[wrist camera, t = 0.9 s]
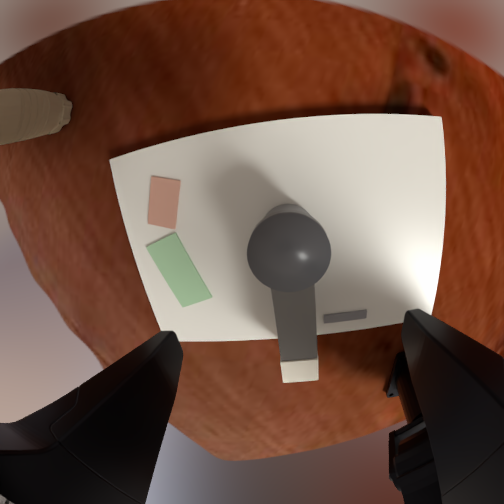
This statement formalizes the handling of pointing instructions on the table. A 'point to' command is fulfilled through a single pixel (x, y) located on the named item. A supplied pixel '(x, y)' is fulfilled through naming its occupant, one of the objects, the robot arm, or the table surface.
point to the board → (288, 192)
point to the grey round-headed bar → (292, 282)
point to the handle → (31, 113)
